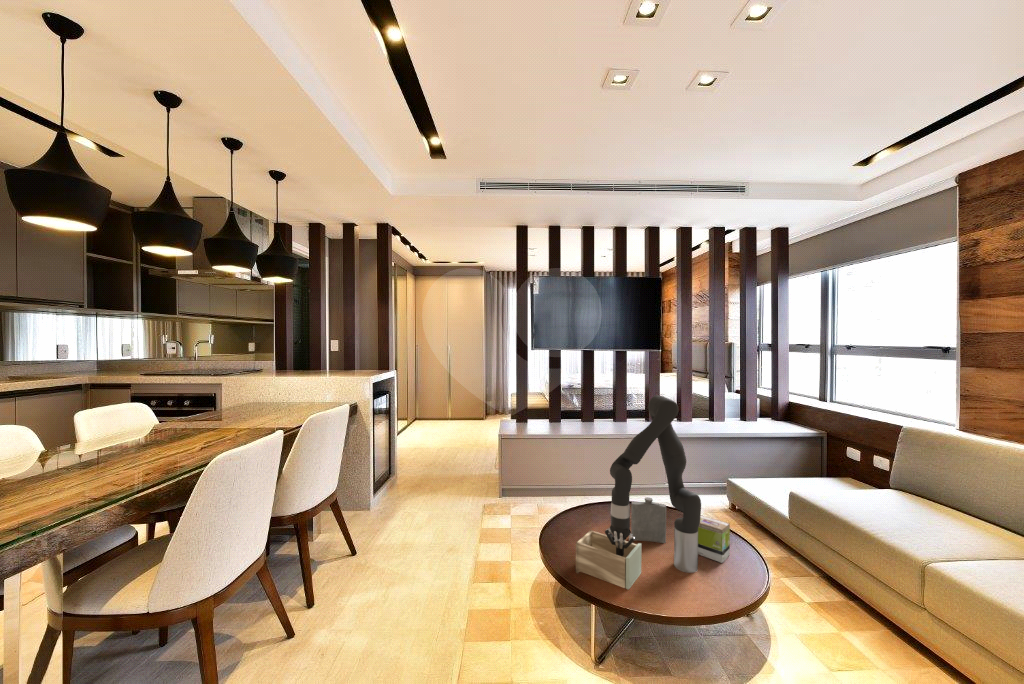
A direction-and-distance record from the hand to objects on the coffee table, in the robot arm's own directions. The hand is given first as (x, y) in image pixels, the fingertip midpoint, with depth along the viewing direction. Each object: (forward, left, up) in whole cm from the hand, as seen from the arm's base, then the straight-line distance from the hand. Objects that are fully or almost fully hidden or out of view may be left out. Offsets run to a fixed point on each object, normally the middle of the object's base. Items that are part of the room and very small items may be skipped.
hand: (619, 556), depth 167 cm
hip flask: (-39, -1, -9) cm, 40 cm away
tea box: (-43, +25, -9) cm, 50 cm away
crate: (0, -6, -9) cm, 11 cm away
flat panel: (0, +6, -8) cm, 10 cm away
